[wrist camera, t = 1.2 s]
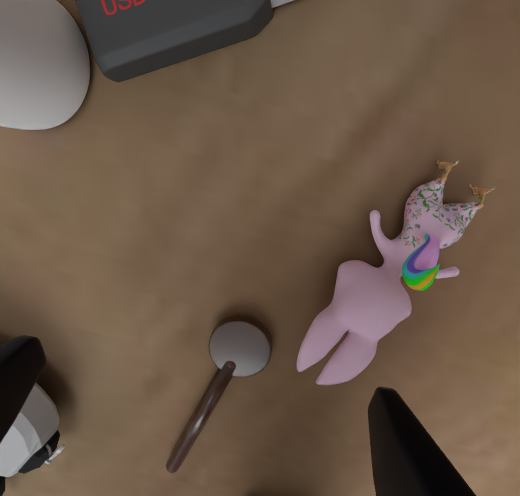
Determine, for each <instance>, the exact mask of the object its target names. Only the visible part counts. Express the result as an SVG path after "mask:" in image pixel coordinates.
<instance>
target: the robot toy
mask: <svg viewBox="0 0 520 496" xmlns="http://www.w3.org/2000/svg"><path fill="white" fill-rule="evenodd" d="M59 424H60V418H59V415H58V411H57V408H56V405H55V404H54V403H53V401H52V400H51V399H50V397H49V396H48V395H47V394H46V393H45V391H44V390H43V389H42V388H41V387H40V386H39V385H38V384H37V383H35V385H34V387H33V388H32V390H31V392H30V394H29V396H28V398H27V400H26V401H25V403H24V405H23V407H22V409H21V411H20V413H19V414H18V416H17V418H16V420H15V421H14V423H13V425H12V426H11V428H10V429H9V431H8V433H7V434H6V436H5V437H4V439H3V440H2V442H1V443H0V496H2V495H3V493H4V491H5V477H11V476H13V475H14V474H16V473H18V472H20V473H23V474H24V473H27V472H29V471H31V470H33V469H36V468H39V467H40V466H41V465H42V464H43V463H44V462H45V463H46V464H47V465H49V464H50V463H51V461H52V460H53V459H54V458H55V457H56V455H57V454H59V453H60V452H61V451H62V450H63V449H64V448H65V446H64V445H61V446H60V447H59V448H58V450H57V451H56V452H55V453H54V454H52V453H53V452H54V451H55V449H56V448H57V444H58V441H59V437H60V433H59V431H58V430H57V429H58V426H59Z"/></svg>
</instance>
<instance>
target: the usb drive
mask: <svg viewBox="0 0 520 496" xmlns="http://www.w3.org/2000/svg"><path fill="white" fill-rule="evenodd" d="M75 1H76V4H77V7H78V10H79V13H80V16H81V19H82V22H83V25H84V28H85V31H86V34H87V37H88V40H89V43H90V46H91V49H92V52H93V55H94V58H95V60H96V63H97V64H98V66H99V68H100V69H101V71H102V73H103V75H104V76H106V77H107V78H109V79H111V80H113V81H115V82H120V81H123V80H127V79H130V78H133V77H136V76H139V75H142V74H145V73H148V72H151V71H154V70H157V69H160V68H163V67H166V66H168V65H171V64H174V63H177V62H180V61H183V60H186V59H189V58H192V57H195V56H198V55H201V54H204V53H207V52H210V51H213V50H216V49H219V48H222V47H225V46H228V45H231V44H234V43H237V42H240V41H243V40H246V39H249V38H252V37H254V36H256V35H257V34H258V33H259V32H260V31H261V30H262V28H263V27H264V26H265V25H266V24H267V23H268V22H269V21H270V20H271V19H272V18H273V12H272V8H274V7H277V6H280V5H283V4H285V3H288V2H291V1H294V0H75Z"/></svg>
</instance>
